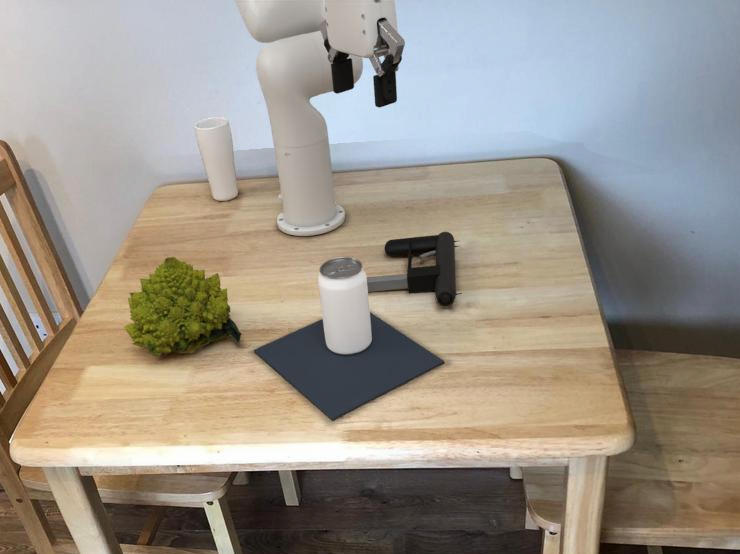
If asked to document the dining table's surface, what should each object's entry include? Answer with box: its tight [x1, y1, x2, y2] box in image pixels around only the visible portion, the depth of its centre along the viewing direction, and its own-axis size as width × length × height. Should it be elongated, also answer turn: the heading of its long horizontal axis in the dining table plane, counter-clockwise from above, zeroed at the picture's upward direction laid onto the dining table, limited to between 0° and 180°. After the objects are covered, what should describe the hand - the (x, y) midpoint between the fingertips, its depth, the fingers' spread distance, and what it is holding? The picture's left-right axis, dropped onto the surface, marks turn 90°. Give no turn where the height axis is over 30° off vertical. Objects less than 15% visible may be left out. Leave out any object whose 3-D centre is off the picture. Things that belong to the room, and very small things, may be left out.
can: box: [317, 256, 372, 355], centre depth 103 cm, size 6×6×12 cm
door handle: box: [366, 231, 463, 308], centre depth 119 cm, size 3×20×16 cm
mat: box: [253, 312, 445, 422], centre depth 104 cm, size 20×18×1 cm
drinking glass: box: [193, 116, 239, 202], centre depth 149 cm, size 7×7×15 cm
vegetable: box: [123, 256, 242, 357], centre depth 110 cm, size 15×16×15 cm
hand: (364, 97), depth 103 cm, fingers open, 9 cm apart
